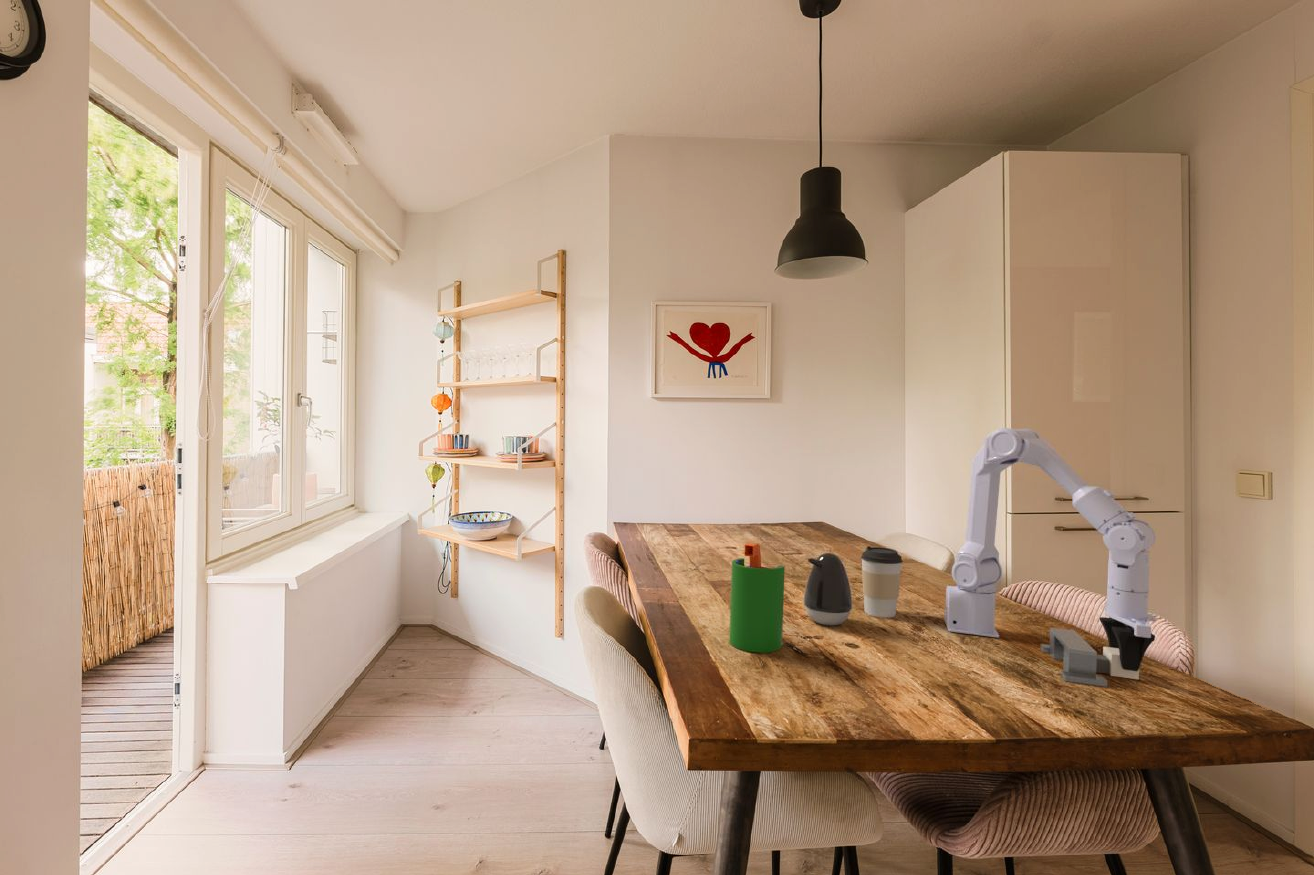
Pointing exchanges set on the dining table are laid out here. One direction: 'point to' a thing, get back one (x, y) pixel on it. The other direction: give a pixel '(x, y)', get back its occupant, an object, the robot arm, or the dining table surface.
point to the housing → (1074, 657)
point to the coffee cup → (881, 581)
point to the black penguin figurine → (828, 591)
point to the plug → (1113, 664)
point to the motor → (756, 604)
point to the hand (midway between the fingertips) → (1124, 664)
